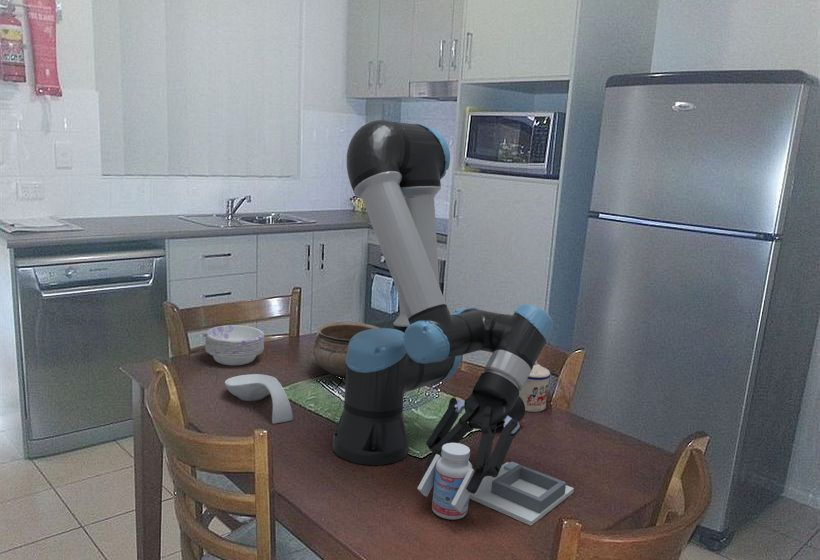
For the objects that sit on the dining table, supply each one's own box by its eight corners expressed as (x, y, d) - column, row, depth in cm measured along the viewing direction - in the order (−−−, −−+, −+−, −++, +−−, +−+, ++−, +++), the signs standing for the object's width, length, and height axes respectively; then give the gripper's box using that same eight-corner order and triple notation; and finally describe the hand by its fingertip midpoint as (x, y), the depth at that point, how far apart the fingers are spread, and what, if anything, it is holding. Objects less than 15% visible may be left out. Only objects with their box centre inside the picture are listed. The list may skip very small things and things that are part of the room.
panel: (460, 494, 117) (461, 478, 117) (506, 465, 130) (508, 451, 129) (530, 526, 109) (532, 509, 108) (573, 492, 121) (575, 477, 121)
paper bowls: (256, 371, 172) (257, 342, 171) (197, 367, 172) (197, 337, 171) (268, 354, 187) (270, 326, 186) (214, 350, 187) (215, 322, 186)
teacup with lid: (529, 415, 157) (534, 368, 154) (501, 402, 164) (506, 357, 161) (561, 406, 164) (567, 361, 162) (533, 394, 171) (538, 350, 169)
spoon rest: (216, 391, 157) (217, 362, 155) (263, 384, 164) (264, 356, 162) (258, 428, 138) (259, 396, 137) (309, 419, 145) (310, 387, 144)
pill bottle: (426, 515, 110) (432, 451, 107) (438, 498, 115) (443, 437, 113) (461, 524, 107) (468, 459, 105) (472, 507, 113) (478, 445, 111)
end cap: (490, 435, 144) (493, 405, 142) (469, 423, 149) (472, 394, 148) (524, 427, 149) (527, 399, 148) (502, 416, 155) (505, 388, 154)
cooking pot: (408, 381, 173) (411, 336, 171) (356, 397, 159) (359, 348, 157) (341, 357, 189) (344, 315, 187) (289, 370, 175) (291, 325, 173)
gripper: (555, 408, 114) (495, 532, 105) (463, 379, 126) (402, 488, 116) (544, 385, 109) (480, 514, 100) (449, 357, 121) (384, 469, 111)
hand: (438, 500), depth 108 cm, fingers closed on pill bottle, 6 cm apart
